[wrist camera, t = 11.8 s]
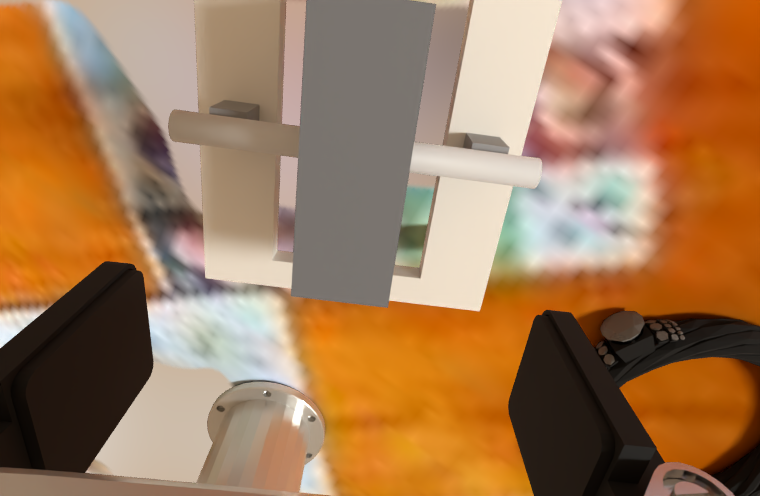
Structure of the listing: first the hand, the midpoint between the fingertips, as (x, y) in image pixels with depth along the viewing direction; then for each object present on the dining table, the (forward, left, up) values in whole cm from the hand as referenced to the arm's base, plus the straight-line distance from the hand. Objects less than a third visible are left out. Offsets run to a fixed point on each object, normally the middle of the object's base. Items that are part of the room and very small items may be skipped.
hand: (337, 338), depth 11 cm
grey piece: (+1, 0, -23) cm, 23 cm away
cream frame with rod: (+1, 0, -28) cm, 28 cm away
